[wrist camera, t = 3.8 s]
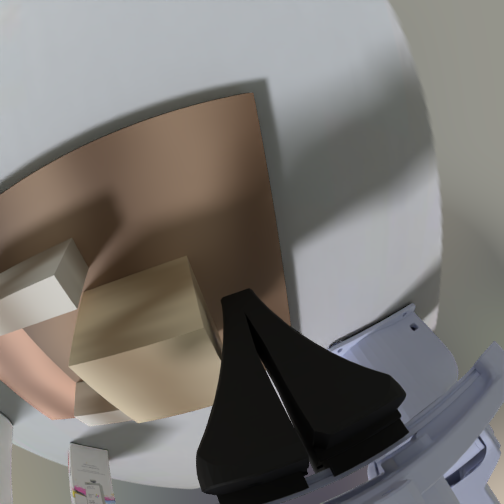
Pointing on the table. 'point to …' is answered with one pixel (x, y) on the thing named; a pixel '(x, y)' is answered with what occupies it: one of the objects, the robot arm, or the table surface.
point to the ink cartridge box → (89, 475)
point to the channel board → (132, 237)
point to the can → (5, 460)
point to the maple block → (149, 343)
